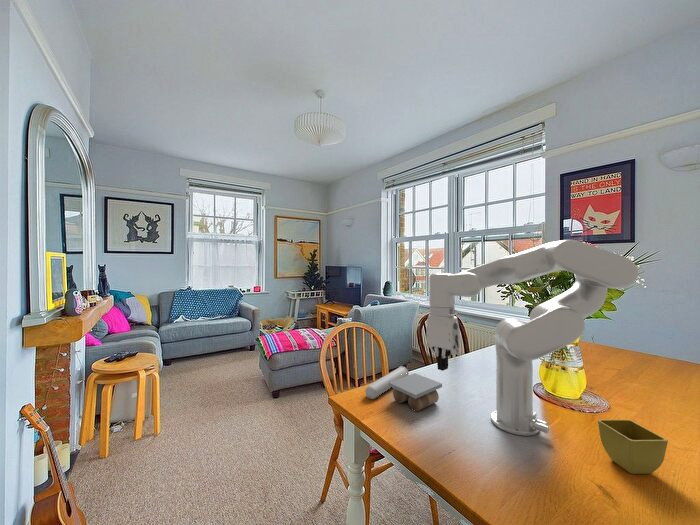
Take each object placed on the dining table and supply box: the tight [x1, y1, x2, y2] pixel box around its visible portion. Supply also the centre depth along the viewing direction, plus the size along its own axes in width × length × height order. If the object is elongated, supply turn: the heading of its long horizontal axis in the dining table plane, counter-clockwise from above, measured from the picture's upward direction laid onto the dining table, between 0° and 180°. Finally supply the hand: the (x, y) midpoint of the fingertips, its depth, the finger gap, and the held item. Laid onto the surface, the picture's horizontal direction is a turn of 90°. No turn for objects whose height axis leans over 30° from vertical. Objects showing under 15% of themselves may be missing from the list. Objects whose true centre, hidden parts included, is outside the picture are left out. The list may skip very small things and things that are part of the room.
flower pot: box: [597, 418, 669, 475], centre depth 68 cm, size 9×9×9 cm
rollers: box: [392, 388, 440, 412], centre depth 100 cm, size 12×10×5 cm
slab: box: [389, 372, 443, 399], centre depth 100 cm, size 12×14×1 cm
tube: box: [365, 365, 410, 400], centre depth 111 cm, size 5×5×25 cm
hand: (442, 369), depth 91 cm, fingers closed
